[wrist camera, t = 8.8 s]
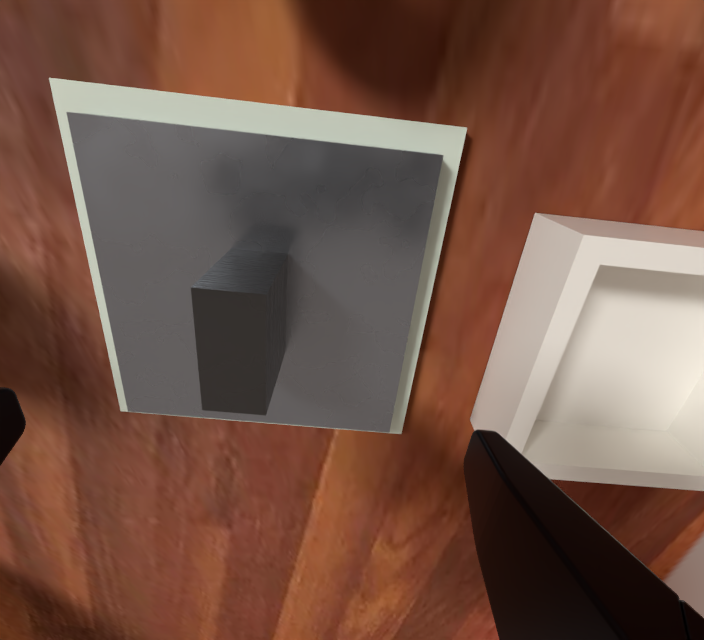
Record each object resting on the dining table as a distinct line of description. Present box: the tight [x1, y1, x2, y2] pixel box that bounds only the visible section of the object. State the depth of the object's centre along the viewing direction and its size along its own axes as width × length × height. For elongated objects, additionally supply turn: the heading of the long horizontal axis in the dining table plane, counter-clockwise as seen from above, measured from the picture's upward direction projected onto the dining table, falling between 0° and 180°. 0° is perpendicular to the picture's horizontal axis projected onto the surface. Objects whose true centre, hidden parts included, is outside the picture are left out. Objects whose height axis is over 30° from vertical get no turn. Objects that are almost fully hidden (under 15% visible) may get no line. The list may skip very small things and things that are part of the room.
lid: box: [66, 112, 443, 433], centre depth 16 cm, size 14×14×6 cm
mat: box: [49, 78, 467, 434], centre depth 18 cm, size 16×16×1 cm
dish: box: [470, 213, 704, 491], centre depth 18 cm, size 12×12×4 cm
